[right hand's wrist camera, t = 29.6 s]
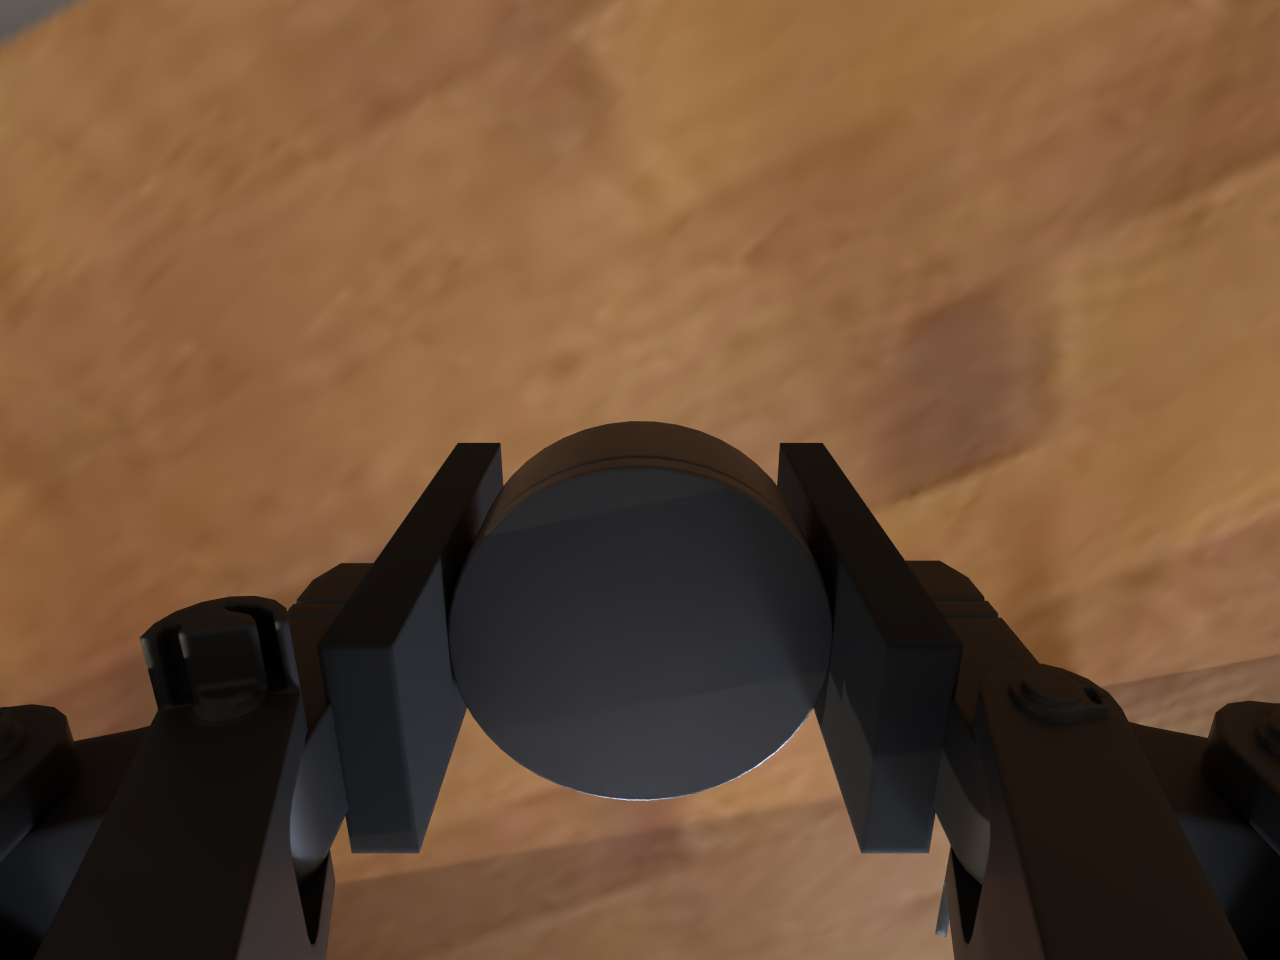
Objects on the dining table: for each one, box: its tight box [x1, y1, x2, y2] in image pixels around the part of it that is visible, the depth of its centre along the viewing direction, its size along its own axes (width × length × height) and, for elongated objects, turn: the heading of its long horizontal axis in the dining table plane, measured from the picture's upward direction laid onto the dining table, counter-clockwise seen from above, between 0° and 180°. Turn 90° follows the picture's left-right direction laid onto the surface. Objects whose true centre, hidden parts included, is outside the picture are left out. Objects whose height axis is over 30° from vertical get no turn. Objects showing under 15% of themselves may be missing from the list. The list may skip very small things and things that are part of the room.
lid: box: [447, 421, 833, 800], centre depth 11 cm, size 5×5×2 cm
